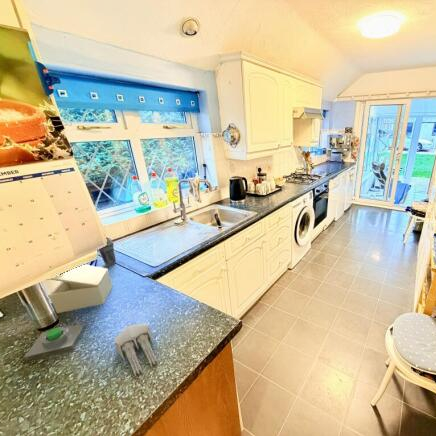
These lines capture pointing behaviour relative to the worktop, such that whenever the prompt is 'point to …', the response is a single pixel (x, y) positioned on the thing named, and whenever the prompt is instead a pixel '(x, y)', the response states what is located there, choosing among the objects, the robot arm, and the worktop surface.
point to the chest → (80, 295)
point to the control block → (56, 343)
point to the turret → (135, 345)
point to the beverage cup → (108, 253)
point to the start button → (53, 333)
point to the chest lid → (83, 275)
